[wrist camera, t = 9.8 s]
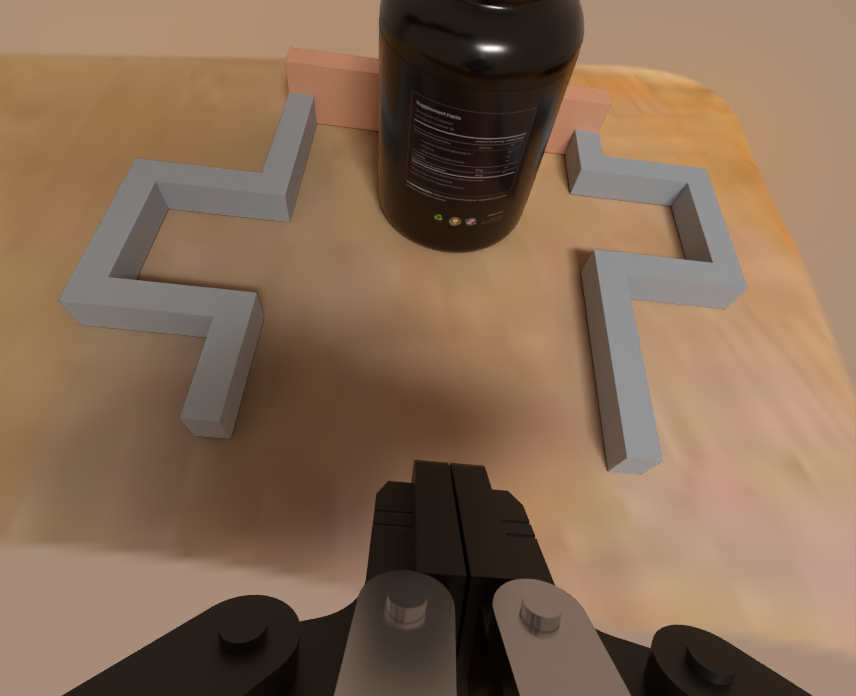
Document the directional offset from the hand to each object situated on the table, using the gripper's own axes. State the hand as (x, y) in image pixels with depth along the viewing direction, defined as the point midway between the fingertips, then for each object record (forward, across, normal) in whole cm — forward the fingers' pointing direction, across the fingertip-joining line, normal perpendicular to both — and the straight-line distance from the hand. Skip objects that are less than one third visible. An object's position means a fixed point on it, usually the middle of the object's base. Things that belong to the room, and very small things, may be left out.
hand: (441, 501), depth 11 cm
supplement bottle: (+15, 0, -7) cm, 16 cm away
